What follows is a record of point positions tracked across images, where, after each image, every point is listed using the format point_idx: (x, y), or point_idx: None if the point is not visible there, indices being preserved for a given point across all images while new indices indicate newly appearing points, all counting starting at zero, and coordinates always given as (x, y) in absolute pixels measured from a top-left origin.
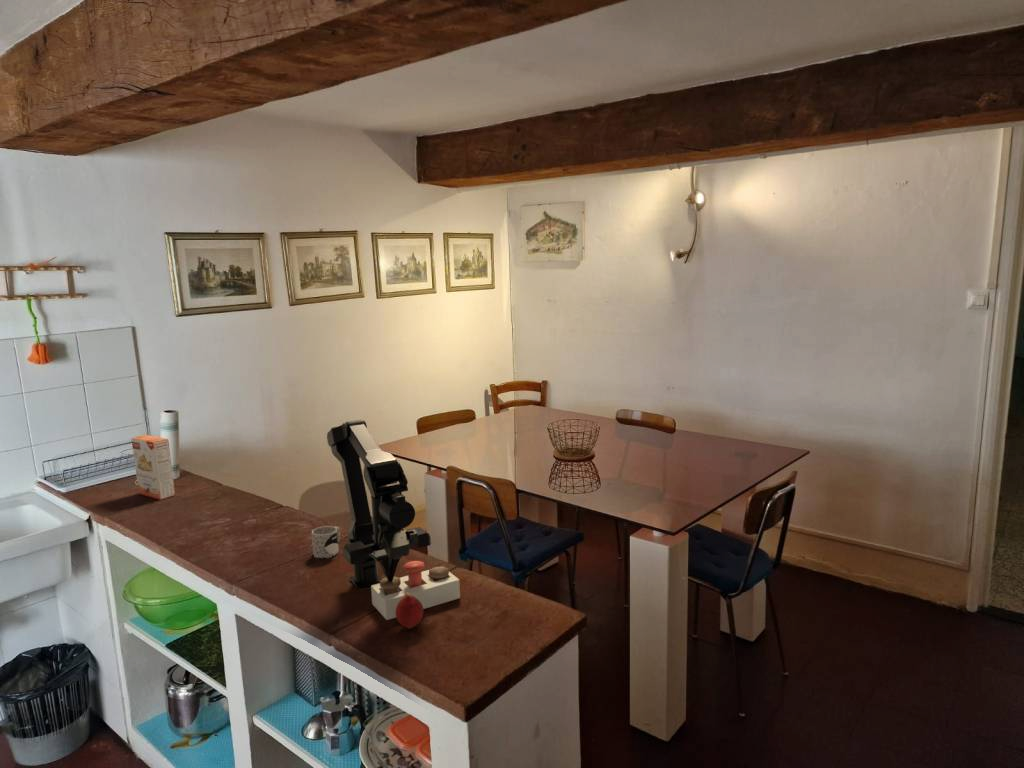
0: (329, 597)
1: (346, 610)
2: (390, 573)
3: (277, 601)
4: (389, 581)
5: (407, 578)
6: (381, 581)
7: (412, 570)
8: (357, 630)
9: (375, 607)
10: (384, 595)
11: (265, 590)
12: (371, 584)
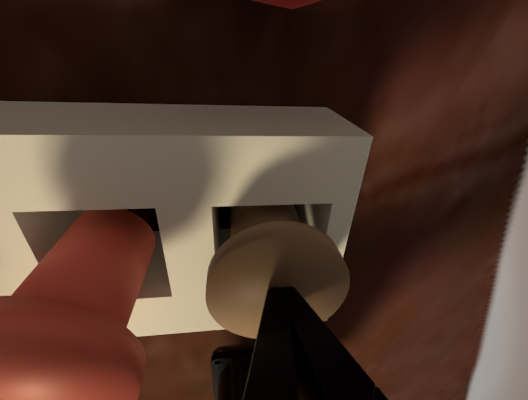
0: (375, 335)
1: (389, 257)
2: (291, 347)
3: (465, 357)
4: (292, 287)
5: (138, 315)
6: (325, 310)
7: (65, 325)
8: (464, 98)
9: None
10: (334, 206)
11: (445, 395)
12: (251, 351)
